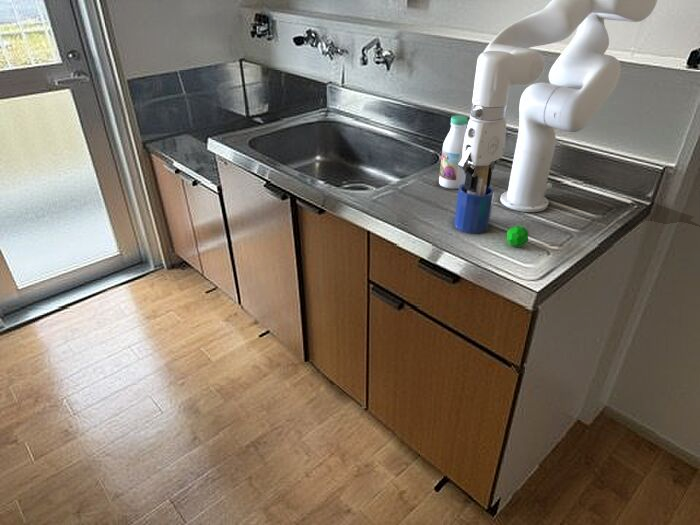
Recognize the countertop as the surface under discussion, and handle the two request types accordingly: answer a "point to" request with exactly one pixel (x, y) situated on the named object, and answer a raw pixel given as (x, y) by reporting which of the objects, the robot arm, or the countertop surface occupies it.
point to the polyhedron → (517, 236)
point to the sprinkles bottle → (481, 179)
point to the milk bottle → (453, 154)
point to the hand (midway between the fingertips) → (476, 187)
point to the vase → (473, 210)
